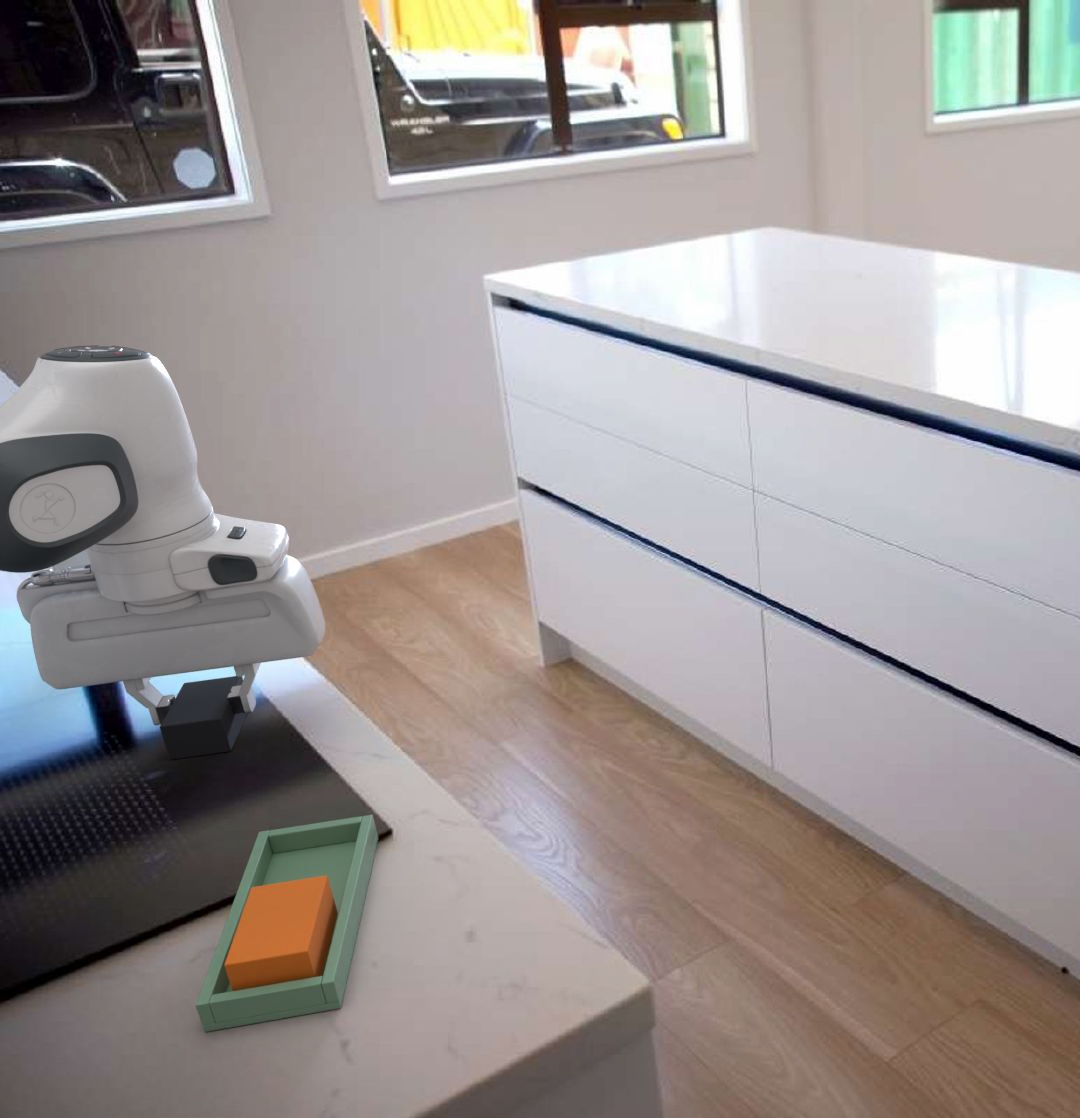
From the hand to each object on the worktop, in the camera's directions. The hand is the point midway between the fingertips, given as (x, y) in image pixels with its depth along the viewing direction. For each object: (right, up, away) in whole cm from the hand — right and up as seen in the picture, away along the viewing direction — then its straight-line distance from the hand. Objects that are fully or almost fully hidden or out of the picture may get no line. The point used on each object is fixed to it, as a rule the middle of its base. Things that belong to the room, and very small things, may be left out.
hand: (206, 715), depth 101 cm
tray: (+16, -11, -21) cm, 29 cm away
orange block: (+17, -11, -25) cm, 32 cm away
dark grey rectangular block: (0, -1, +1) cm, 2 cm away
